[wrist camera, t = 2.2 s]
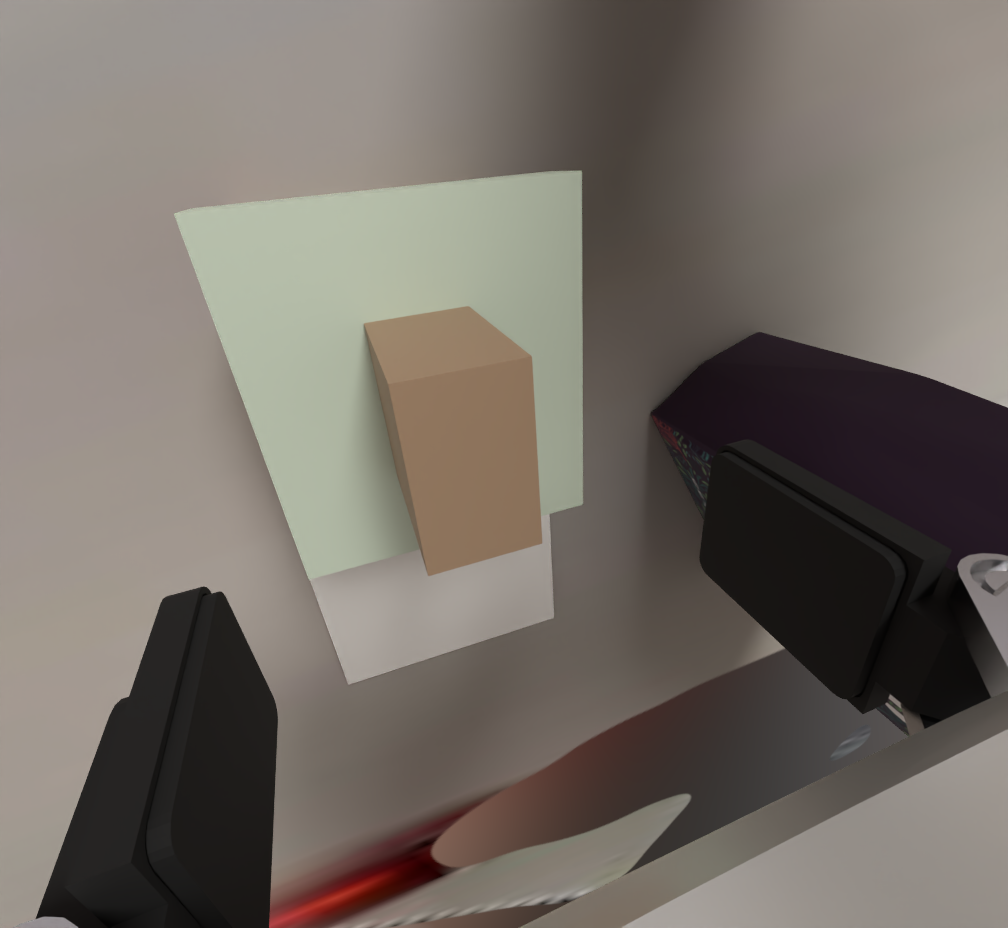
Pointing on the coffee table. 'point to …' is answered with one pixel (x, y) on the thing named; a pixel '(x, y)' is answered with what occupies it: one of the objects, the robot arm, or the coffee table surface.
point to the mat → (431, 606)
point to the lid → (407, 360)
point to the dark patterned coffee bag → (852, 439)
